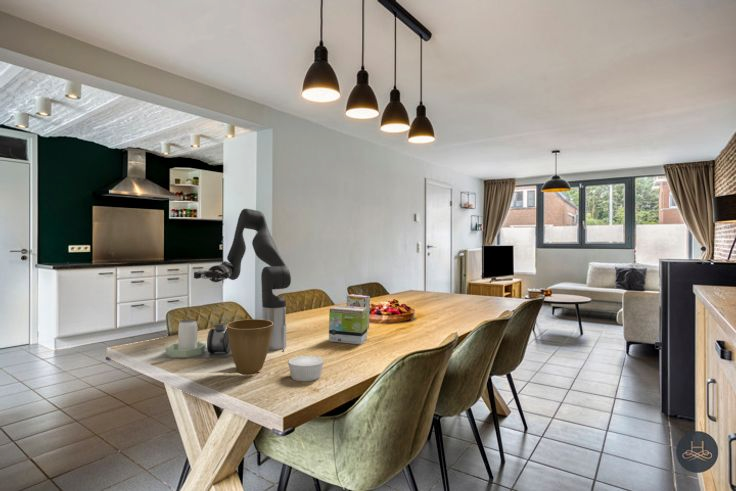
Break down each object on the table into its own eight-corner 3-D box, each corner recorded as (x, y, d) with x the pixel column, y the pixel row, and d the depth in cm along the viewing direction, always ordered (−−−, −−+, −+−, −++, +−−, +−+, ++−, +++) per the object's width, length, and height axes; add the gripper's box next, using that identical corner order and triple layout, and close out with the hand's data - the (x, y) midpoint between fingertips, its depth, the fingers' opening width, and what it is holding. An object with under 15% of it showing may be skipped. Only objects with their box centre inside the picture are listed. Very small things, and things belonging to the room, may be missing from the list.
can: (190, 355, 145) (190, 322, 145) (174, 354, 146) (174, 321, 146) (200, 350, 152) (201, 319, 151) (185, 349, 153) (185, 318, 153)
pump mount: (237, 349, 157) (237, 341, 157) (226, 360, 143) (226, 350, 143) (175, 349, 156) (175, 341, 156) (158, 360, 142) (158, 350, 142)
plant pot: (218, 370, 132) (218, 322, 132) (258, 361, 142) (259, 317, 142) (239, 382, 121) (239, 330, 121) (281, 372, 132) (282, 324, 131)
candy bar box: (345, 327, 202) (346, 295, 201) (351, 325, 206) (351, 294, 206) (364, 330, 196) (364, 297, 195) (369, 328, 200) (370, 296, 200)
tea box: (328, 342, 171) (328, 308, 171) (335, 337, 181) (336, 304, 181) (361, 345, 168) (362, 310, 168) (367, 339, 178) (368, 306, 177)
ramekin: (285, 373, 131) (285, 357, 131) (318, 369, 135) (318, 354, 135) (291, 384, 120) (291, 367, 120) (327, 380, 124) (327, 364, 124)
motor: (232, 349, 154) (233, 321, 154) (225, 355, 145) (226, 326, 145) (214, 349, 154) (215, 321, 154) (206, 355, 145) (207, 326, 145)
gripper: (203, 264, 183) (189, 267, 166) (234, 265, 183) (224, 267, 167) (203, 281, 183) (189, 285, 166) (234, 281, 183) (223, 285, 167)
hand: (206, 276), depth 167 cm, fingers open, 8 cm apart
